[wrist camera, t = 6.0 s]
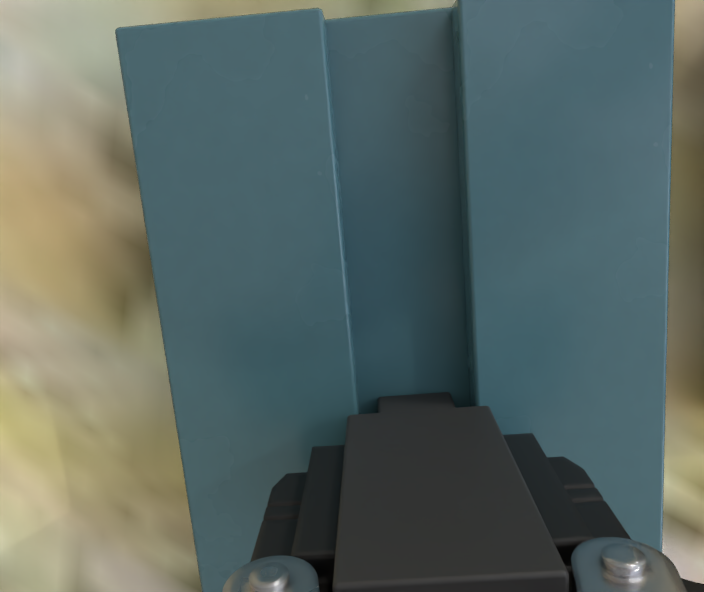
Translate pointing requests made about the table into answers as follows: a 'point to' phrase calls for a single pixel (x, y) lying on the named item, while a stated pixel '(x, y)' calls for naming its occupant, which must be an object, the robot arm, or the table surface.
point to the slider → (437, 505)
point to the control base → (407, 236)
